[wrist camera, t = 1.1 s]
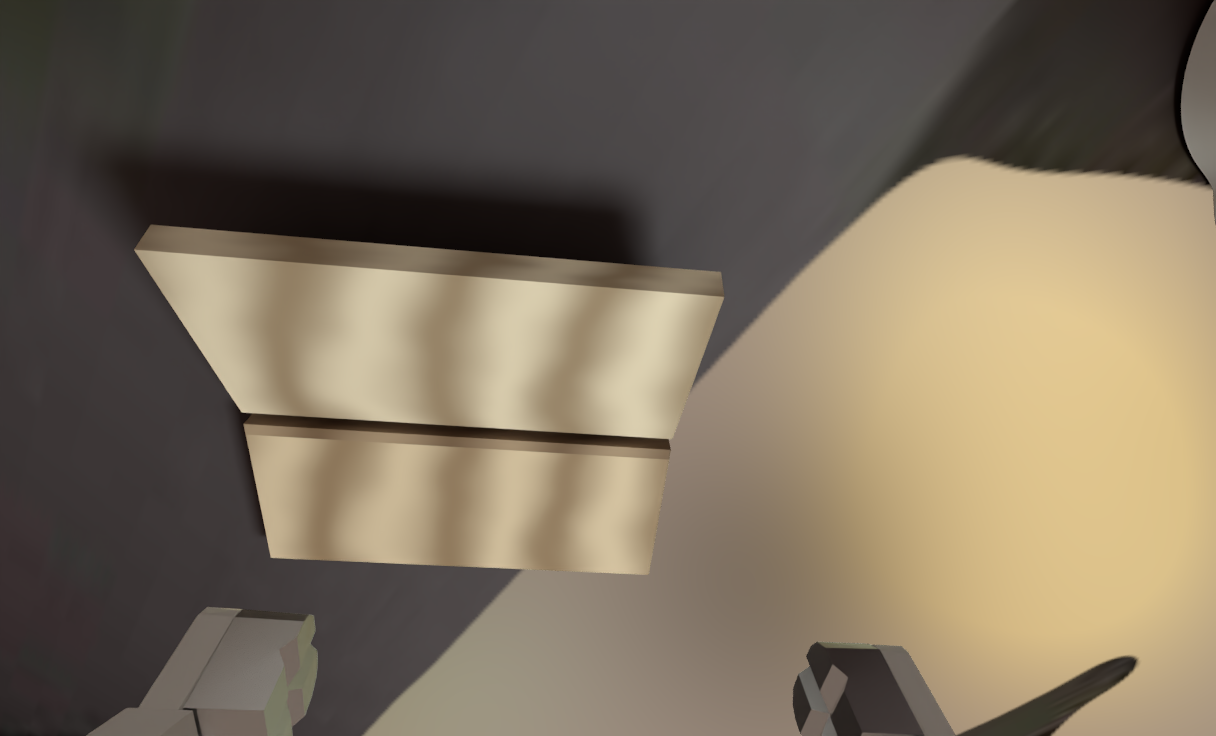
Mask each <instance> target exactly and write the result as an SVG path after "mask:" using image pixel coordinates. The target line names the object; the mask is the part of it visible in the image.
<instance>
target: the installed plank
mask: <svg viewBox="0 0 1216 736" xmlns="http://www.w3.org/2000/svg"><path fill="white" fill-rule="evenodd" d="M244 429H245V434H246V438H247V443H248V448H249V453H250V458H251V462H252V467H253V472H254V477H255V482H256V487H257V492H258V497H259V502H260V506H261V511H262V516H263V521H264V526H265V531H266V536H267V541H268V546H269V550H270V555H271V558H288V559H310V560H332V561H354V562H377V563H399V564H421V565H443V566H466V567H488V568H510V569H532V570H555V571H577V572H599V573H621V574H644V575H648V574H649V570H650V564H651V559H652V553H653V547H654V541H655V536H656V530H657V525H658V518H659V513H660V508H661V502H662V496H663V491H664V485H665V479H666V473H667V468H668V462H669V456H670V451H671V449H670V444H669V439H661V438H644V437H628V436H612V435H596V434H580V433H564V432H548V431H531V430H515V429H499V428H483V427H467V426H451V425H435V424H418V423H402V422H386V421H370V420H354V419H338V418H322V417H305V416H289V415H273V414H257V413H253V414H252V415H251V416H250V417H249V418H248V419H247V421H246V422H245V423H244Z"/></svg>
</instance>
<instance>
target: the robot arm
mask: <svg viewBox="0 0 1216 736" xmlns="http://www.w3.org/2000/svg"><path fill="white" fill-rule="evenodd" d="M1181 119H1182V128H1183V133H1184V137H1185V141H1186V144H1187V147H1188V149H1189V151H1190V154H1191V156H1192V158H1193V159H1194V161H1195V163H1196V164H1197V165H1198V167H1199V168H1200V170H1201V171H1202V172H1203V174H1204V175H1205V176H1206V178H1207V179H1208V181H1209V183H1210V185H1211V187H1212V189H1213V196H1214V216H1215V223H1216V0H1214V1H1213V3H1212V4H1211V6H1210V8H1209V10H1208V12H1207V14H1206V16H1205V18H1204V20H1203V22H1202V24H1201V27H1200V29H1199V31H1198V34H1197V36H1196V39H1195V41H1194V44H1193V47H1192V50H1191V53H1190V56H1189V59H1188V63H1187V67H1186V71H1185V76H1184V81H1183V87H1182V96H1181ZM315 631H316V630H315V622H314V616H313V615H307V614H295V613H282V612H270V611H258V610H246V609H229V608H215V607H207V608H206V609H205V610H203V611H202V612H201V613H200V614H199V615H198V616H197V617H196V618H195V620H194V621H193V623H192V624H191V626H190V628H189V629H188V631H187V632H186V634H185V635H184V637H183V639H182V640H181V642H180V643H179V645H178V646H177V648H176V650H175V651H174V653H173V654H172V656H171V657H170V659H169V660H168V662H167V664H166V665H165V667H164V668H163V670H162V671H161V673H160V675H159V676H158V678H157V679H156V681H155V682H154V684H153V686H152V687H151V689H150V690H149V692H148V693H147V695H146V696H145V698H144V700H143V701H142V703H141V704H140V706H139V707H138V708H126V709H124V710H123V711H121V712H120V713H118V714H117V715H116V716H114V717H113V718H111V719H110V720H108V721H107V722H105V723H104V724H102V725H101V726H99V727H98V728H97V729H95V730H94V731H92V732H91V733H89V734H88V735H86V736H293V735H292V726H293V725H294V724H296V723H297V722H298V721H299V720H300V719H302V718H303V717H304V716H305V714H306V711H307V708H308V705H309V703H310V700H311V697H312V693H313V689H314V685H315V681H316V676H317V665H318V657H317V650H316V649H315V648H314V647H313V646H312V645H311V644H310V643H311V641H312V638H313V636H314V633H315ZM806 657H807V659H808V662H809V665H810V666H809V667H808V668H807V669H805V670H804V671H802V672H801V673H799V674H798V677H797V680H796V682H795V685H794V689H793V708H794V714H795V719H796V722H797V725H798V728H799V731H800V734H801V735H802V736H956V735H955V733H954V732H953V730H952V728H951V726H950V725H949V723H948V721H947V720H946V718H945V716H944V714H943V713H942V711H941V709H940V707H939V706H938V704H937V702H936V700H935V698H934V697H933V695H932V693H931V691H930V690H929V688H928V686H927V684H926V683H925V681H924V679H923V677H922V676H921V674H920V672H919V670H918V669H917V667H916V665H915V664H914V662H913V660H912V658H911V656H910V655H909V653H908V652H907V651H906V650H905V649H904V648H903V647H902V646H887V645H870V644H859V643H833V642H816V643H815V644H814V645H812V646H811V647H810V649H809V652H808V654H807V656H806Z"/></svg>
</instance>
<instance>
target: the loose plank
mask: <svg viewBox="0 0 1216 736" xmlns="http://www.w3.org/2000/svg"><path fill="white" fill-rule="evenodd" d="M134 250H135V252H136V253H137V255H138V256H139V258H140V259H141V261H142V262H143V264H144V265H145V267H146V269H147V270H148V272H149V273H150V275H151V276H152V278H153V279H154V281H155V282H156V284H157V285H158V287H159V288H160V290H161V291H162V293H163V294H164V296H165V297H166V299H167V300H168V302H169V303H170V305H171V306H172V308H173V309H174V311H175V312H176V314H177V315H178V317H179V318H180V320H181V321H182V323H183V324H184V326H185V328H186V329H187V331H188V332H189V334H190V335H191V337H192V338H193V340H194V341H195V343H196V344H197V346H198V347H199V349H200V350H201V352H202V353H203V355H204V356H205V358H206V359H207V361H208V362H209V364H210V365H211V367H212V368H213V370H214V371H215V373H216V374H217V376H218V377H219V379H220V380H221V382H222V383H223V385H224V387H225V388H226V390H227V391H228V393H229V394H230V396H231V397H232V399H233V400H234V402H235V403H236V405H237V406H238V408H239V409H240V411H241V412H242V413H257V414H273V415H289V416H305V417H322V418H338V419H354V420H370V421H386V422H402V423H418V424H435V425H451V426H467V427H483V428H499V429H515V430H531V431H548V432H564V433H580V434H596V435H612V436H628V437H644V438H661V439H673V436H674V434H675V431H676V428H677V425H678V422H679V420H680V417H681V414H682V411H683V409H684V406H685V403H686V401H687V398H688V395H689V392H690V390H691V387H692V384H693V381H694V379H695V376H696V373H697V370H698V368H699V365H700V362H701V359H702V357H703V354H704V351H705V349H706V346H707V343H708V340H709V338H710V335H711V332H712V329H713V327H714V324H715V321H716V318H717V316H718V313H719V310H720V307H721V305H722V302H723V299H724V291H723V284H722V277H721V272H713V271H701V270H689V269H677V268H665V267H653V266H641V265H629V264H617V263H605V262H593V261H581V260H569V259H557V258H545V257H533V256H521V255H509V254H497V253H485V252H473V251H461V250H449V249H437V248H425V247H413V246H401V245H389V244H377V243H365V242H353V241H341V240H329V239H317V238H305V237H293V236H281V235H269V234H257V233H245V232H233V231H221V230H209V229H197V228H185V227H173V226H161V225H150V227H149V228H148V230H147V231H146V232H145V234H144V235H143V237H142V238H141V240H140V241H139V243H138V244H137V246H136V247H135V249H134Z"/></svg>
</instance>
